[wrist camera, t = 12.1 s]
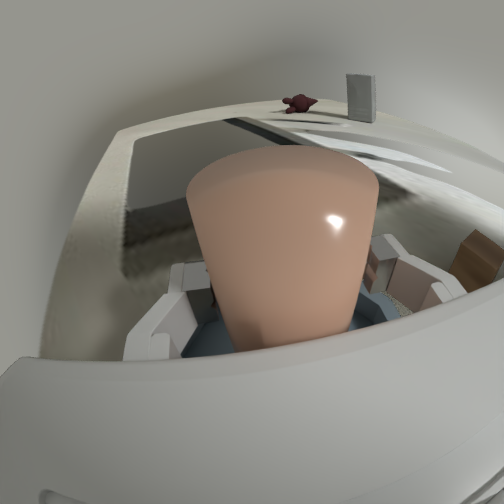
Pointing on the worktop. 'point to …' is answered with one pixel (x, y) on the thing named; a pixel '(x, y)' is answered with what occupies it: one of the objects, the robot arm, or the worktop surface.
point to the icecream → (298, 103)
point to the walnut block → (476, 262)
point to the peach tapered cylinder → (284, 241)
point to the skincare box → (361, 97)
